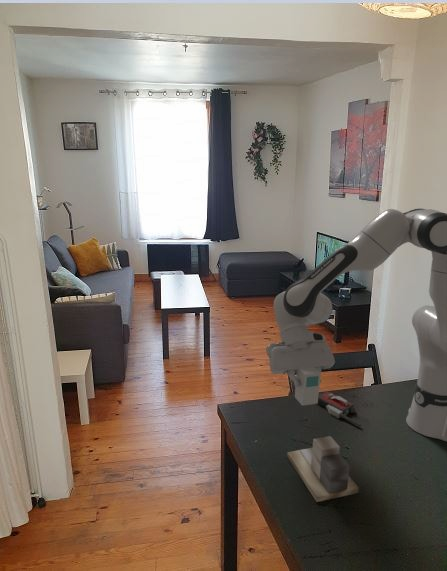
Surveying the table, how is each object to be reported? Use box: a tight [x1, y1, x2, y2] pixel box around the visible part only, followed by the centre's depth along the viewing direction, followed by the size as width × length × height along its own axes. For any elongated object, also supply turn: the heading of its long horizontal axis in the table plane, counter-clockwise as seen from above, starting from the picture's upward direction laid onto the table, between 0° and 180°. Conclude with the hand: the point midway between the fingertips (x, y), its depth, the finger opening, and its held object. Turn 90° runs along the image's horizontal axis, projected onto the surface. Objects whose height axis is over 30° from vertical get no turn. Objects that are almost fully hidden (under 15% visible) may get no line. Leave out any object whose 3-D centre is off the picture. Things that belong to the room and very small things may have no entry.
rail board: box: [286, 435, 360, 503], centre depth 114 cm, size 12×18×11 cm, turn 16°
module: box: [294, 366, 322, 406], centre depth 124 cm, size 5×5×10 cm
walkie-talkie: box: [318, 391, 362, 427], centre depth 145 cm, size 9×4×20 cm
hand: (308, 384), depth 123 cm, fingers closed on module, 5 cm apart
